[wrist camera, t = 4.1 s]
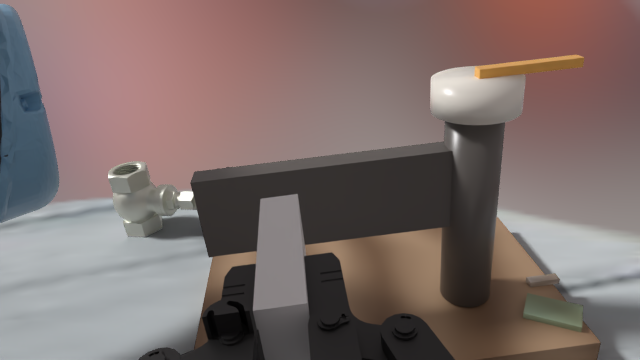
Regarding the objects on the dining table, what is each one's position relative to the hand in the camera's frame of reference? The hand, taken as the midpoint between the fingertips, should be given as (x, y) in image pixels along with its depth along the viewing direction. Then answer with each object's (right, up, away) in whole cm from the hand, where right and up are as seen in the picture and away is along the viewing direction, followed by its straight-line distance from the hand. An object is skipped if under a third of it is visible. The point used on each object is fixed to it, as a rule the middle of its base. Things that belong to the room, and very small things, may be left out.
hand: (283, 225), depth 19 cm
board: (+5, -7, +14) cm, 17 cm away
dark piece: (+6, -6, +12) cm, 15 cm away
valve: (-12, -3, +27) cm, 29 cm away
